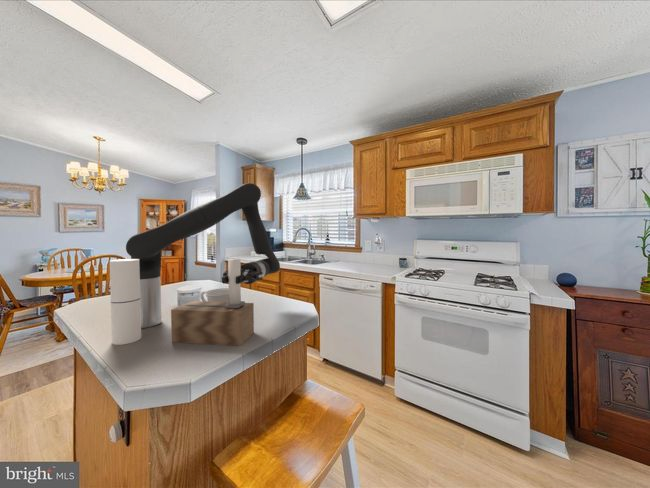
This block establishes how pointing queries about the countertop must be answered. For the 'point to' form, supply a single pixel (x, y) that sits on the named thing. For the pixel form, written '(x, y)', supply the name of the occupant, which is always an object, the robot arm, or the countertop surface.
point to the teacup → (216, 295)
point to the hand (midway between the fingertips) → (230, 280)
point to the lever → (234, 284)
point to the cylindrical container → (125, 301)
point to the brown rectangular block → (212, 323)
